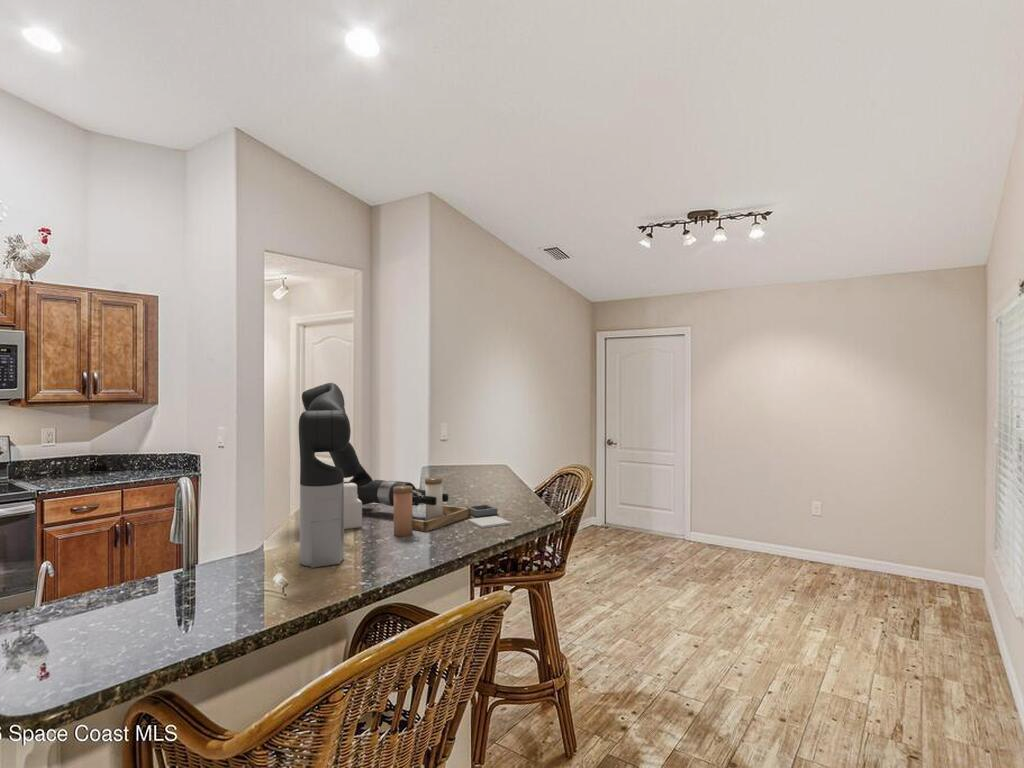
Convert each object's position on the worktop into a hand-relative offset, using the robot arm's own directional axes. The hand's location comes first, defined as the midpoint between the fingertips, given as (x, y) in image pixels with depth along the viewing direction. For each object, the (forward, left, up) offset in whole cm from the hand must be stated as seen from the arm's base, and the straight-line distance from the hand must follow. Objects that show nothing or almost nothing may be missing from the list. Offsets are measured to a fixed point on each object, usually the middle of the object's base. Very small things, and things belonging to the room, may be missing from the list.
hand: (441, 499), depth 163 cm
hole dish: (+4, -15, -6) cm, 17 cm away
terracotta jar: (-7, +13, -6) cm, 16 cm away
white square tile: (-7, -12, -6) cm, 15 cm away
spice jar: (+2, +1, -6) cm, 7 cm away
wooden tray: (+2, +1, -6) cm, 7 cm away
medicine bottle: (+9, +24, -7) cm, 27 cm away
